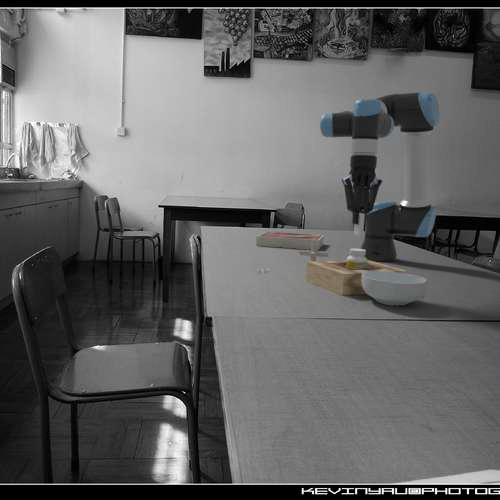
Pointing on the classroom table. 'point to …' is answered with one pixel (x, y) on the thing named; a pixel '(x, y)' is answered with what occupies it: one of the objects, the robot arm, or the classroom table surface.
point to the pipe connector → (314, 252)
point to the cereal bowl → (393, 287)
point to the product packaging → (289, 240)
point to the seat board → (342, 275)
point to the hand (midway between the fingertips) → (358, 235)
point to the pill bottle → (357, 259)
